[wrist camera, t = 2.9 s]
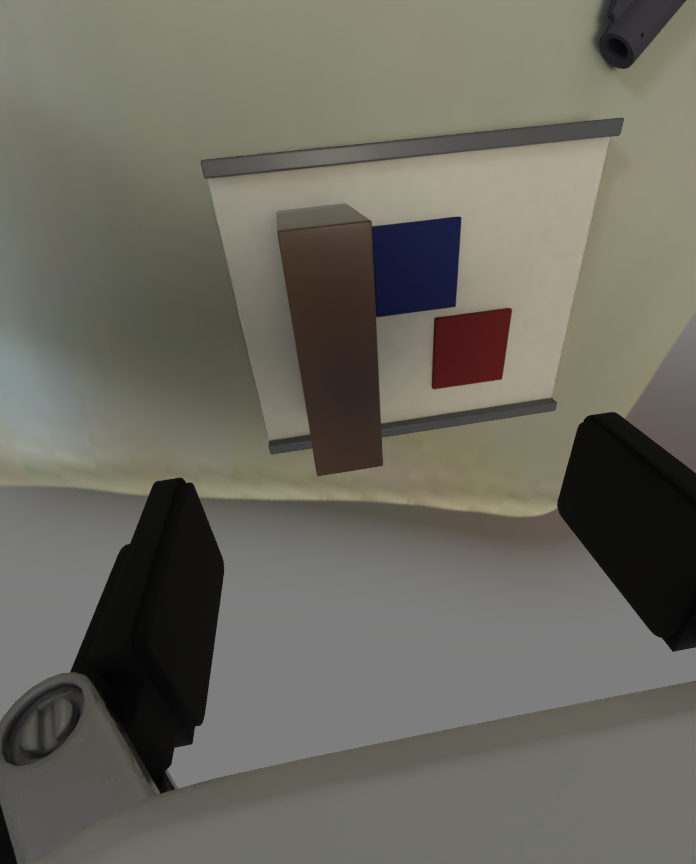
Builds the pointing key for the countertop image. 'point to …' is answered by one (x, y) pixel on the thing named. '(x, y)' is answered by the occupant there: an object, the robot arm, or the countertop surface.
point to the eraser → (334, 331)
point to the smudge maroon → (470, 347)
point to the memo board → (477, 271)
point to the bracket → (634, 28)
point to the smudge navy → (416, 265)
